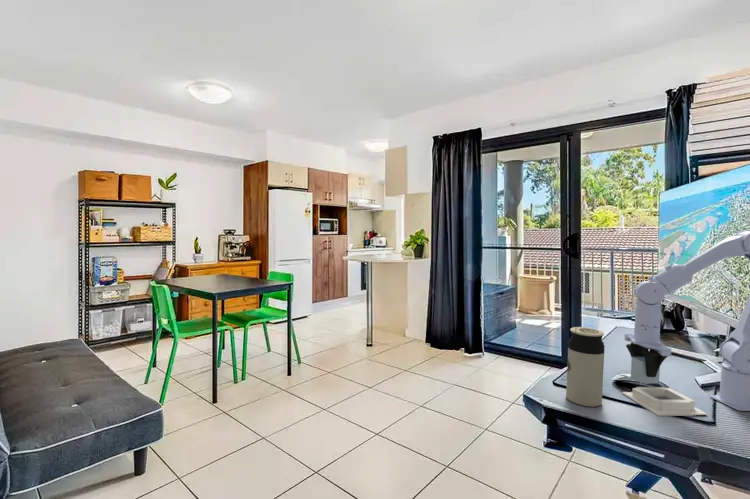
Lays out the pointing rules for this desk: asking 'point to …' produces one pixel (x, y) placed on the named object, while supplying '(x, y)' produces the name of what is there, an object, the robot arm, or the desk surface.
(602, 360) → the travel mug
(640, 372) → the plug block
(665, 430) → the desk surface
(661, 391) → the socket plate
